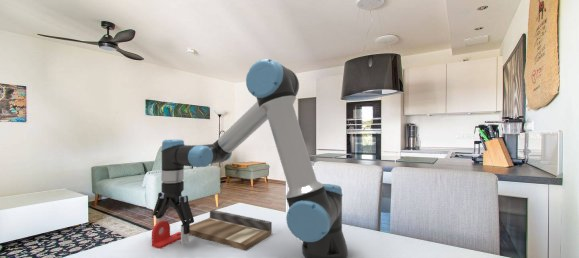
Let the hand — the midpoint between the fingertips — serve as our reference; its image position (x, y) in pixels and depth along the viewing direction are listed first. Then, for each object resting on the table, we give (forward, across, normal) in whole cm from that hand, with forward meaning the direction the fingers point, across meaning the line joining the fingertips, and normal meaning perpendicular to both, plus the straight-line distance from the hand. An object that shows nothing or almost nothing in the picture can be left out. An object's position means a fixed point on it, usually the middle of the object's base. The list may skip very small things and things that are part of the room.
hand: (172, 238), depth 96 cm
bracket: (+2, +2, 0) cm, 2 cm away
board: (+1, -12, -16) cm, 20 cm away
